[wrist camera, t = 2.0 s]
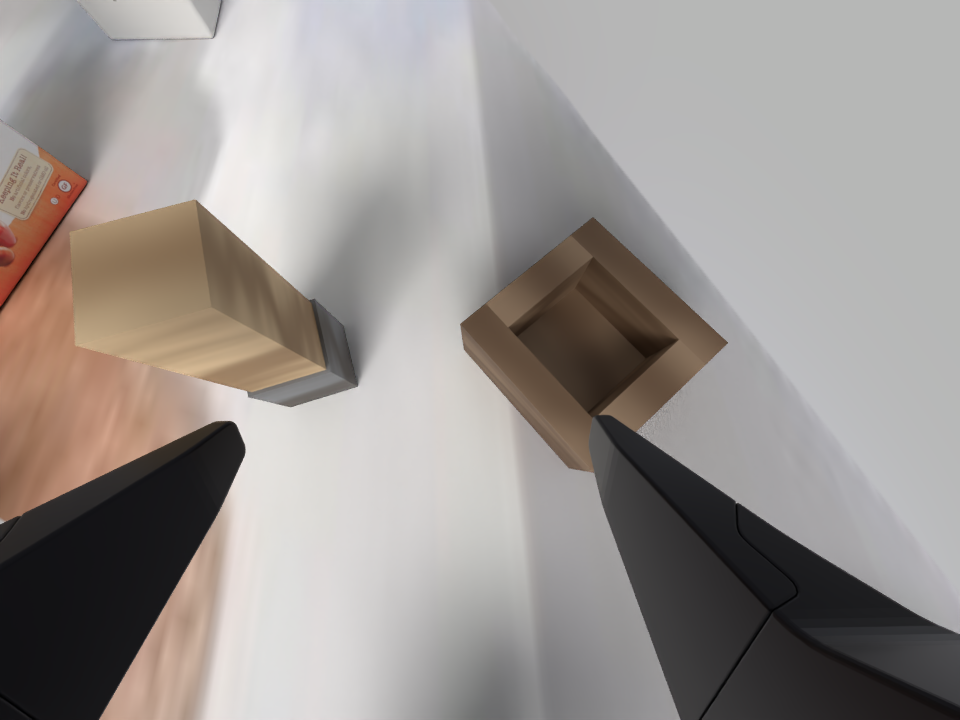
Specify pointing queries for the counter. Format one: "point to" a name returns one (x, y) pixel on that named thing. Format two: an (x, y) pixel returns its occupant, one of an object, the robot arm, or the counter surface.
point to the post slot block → (588, 341)
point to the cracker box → (29, 202)
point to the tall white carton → (154, 18)
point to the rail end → (203, 307)
